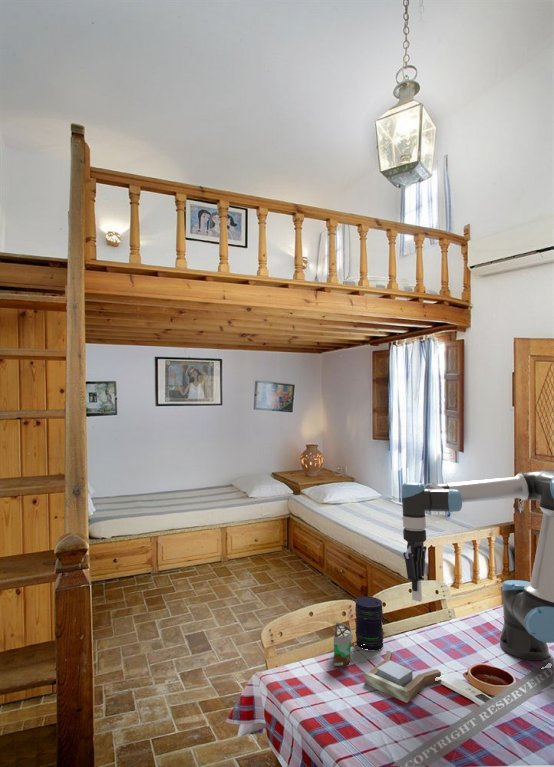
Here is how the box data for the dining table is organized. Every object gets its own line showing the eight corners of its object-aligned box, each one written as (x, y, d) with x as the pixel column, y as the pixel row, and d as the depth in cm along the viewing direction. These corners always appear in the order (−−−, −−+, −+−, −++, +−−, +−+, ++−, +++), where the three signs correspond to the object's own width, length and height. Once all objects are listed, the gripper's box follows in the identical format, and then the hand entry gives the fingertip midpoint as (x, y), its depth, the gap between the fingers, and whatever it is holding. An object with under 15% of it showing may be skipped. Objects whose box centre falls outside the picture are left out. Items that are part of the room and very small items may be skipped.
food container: (353, 672, 140) (352, 639, 141) (334, 670, 141) (333, 637, 142) (354, 653, 152) (353, 623, 153) (336, 651, 153) (336, 621, 154)
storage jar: (353, 648, 156) (352, 604, 157) (358, 636, 165) (358, 594, 166) (381, 653, 152) (380, 608, 153) (385, 640, 161) (384, 598, 162)
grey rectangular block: (412, 686, 133) (412, 670, 133) (399, 695, 128) (399, 679, 129) (390, 675, 139) (390, 660, 139) (377, 683, 134) (376, 668, 135)
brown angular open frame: (441, 679, 136) (441, 669, 136) (414, 706, 123) (414, 695, 123) (387, 657, 149) (387, 648, 149) (357, 680, 135) (357, 670, 136)
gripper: (412, 523, 157) (415, 591, 155) (395, 530, 148) (397, 602, 145) (433, 527, 152) (435, 597, 149) (416, 533, 143) (418, 608, 140)
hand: (416, 599), depth 147 cm, fingers closed
